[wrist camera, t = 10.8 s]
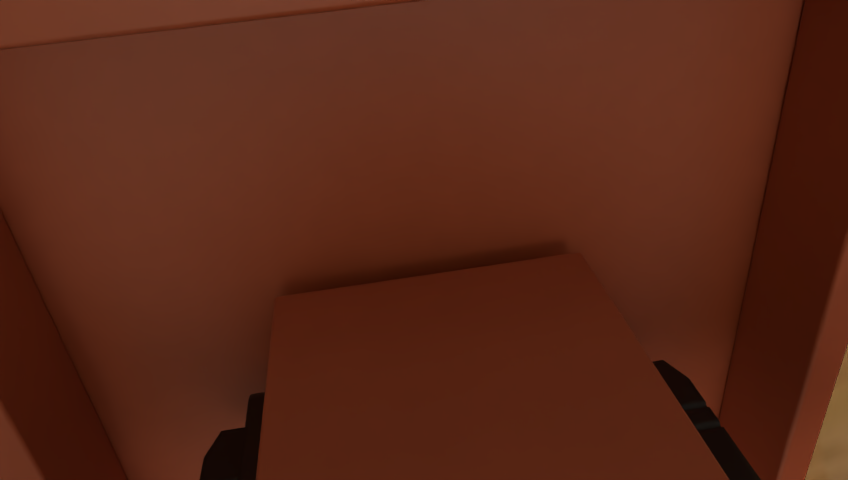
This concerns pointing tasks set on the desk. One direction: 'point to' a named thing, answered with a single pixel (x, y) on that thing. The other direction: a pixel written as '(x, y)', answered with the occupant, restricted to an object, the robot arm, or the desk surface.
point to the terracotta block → (470, 383)
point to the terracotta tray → (407, 197)
